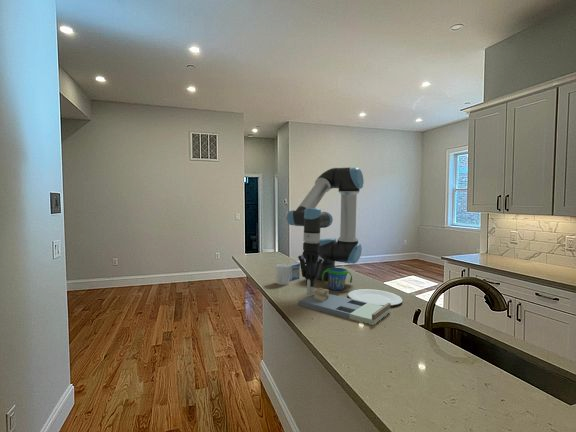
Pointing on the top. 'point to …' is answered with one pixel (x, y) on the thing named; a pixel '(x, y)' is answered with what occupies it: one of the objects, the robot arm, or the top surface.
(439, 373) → the top surface
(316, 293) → the maple block
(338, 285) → the snack cup
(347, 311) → the board
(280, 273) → the white cup
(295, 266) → the medicine box
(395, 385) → the top surface
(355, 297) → the plate
